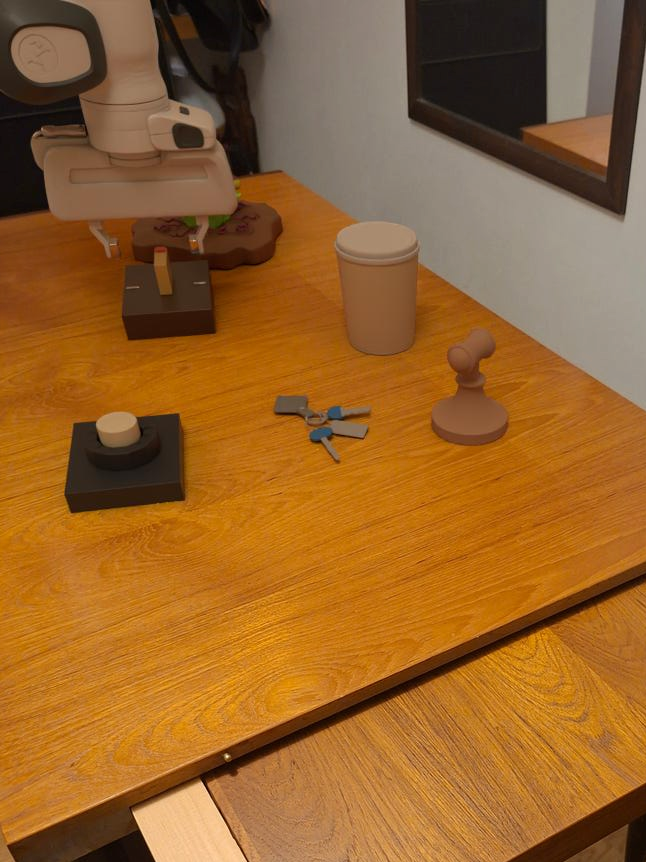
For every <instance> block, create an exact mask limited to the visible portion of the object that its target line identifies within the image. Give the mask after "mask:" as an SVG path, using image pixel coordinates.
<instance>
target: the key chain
mask: <svg viewBox="0 0 646 862" xmlns="http://www.w3.org/2000/svg"><path fill="white" fill-rule="evenodd" d="M307 402H308V396H307V395H277V396H276V398H275V402H274V407H273V412H274V413H277V414H279V413H290V414H291V413H294V414H295V413H296V414H297V415H300V416H301V417H303V418H304V421H305V423H304V424H305V425H306V427H308V428H309V429H311V430H312V431H311V432H310V433H309V434H308V437H309V439H310V440H311V441H314V442H317V441H321V442H322V444H323V446H325V448H326V450H327V451H328V452H329V453H330V455H331V456H332V457H333V459H335V461H340V460H341V458H340V456H339V454H338V452H337V450H336V449H335V447H334V446H333V444H332V443H331V441H329V439H328V438H329V437H331V436H332V435H333V434H336V435H340V436H341V435H342V436H348V437H354V438H359V439H364V438H365V436H366V433H367V431H368V429H369V424H363V423H357V422H351V421H346V420H345V421H344V420H341V419H344V417H346V416H348V417H349V416H351V415H356V416H357V415H358V414H362V413H366V414H367V413H369V412H371V410H372V408H371V406H370V405H366V406H359V407H351V408H345V407H342V405H335V406H331V407H330V408H328V409H327V411H317V410H316V411H313V410H312V409H309V408H308V407H307ZM316 415H317V416H319V417H314V416H316ZM329 419H331V420H332V421H329ZM312 420H317V421H312ZM325 422H327V424H328V423H329V426H320V427H317V428H315V427H311V426H310V425H314V426H317V425H322V424H324V423H325Z"/></svg>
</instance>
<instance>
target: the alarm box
mask: <svg viewBox="0 0 646 862" xmlns="http://www.w3.org/2000/svg"><path fill="white" fill-rule="evenodd" d="M134 416H135V415H134ZM135 417H136V418H137V422H138V425H139V429H140V433H141V437H140V439H139V440H138V441H137V442H135V443H133V444H130V445H128V446H124V447H114V448H112V447H107V446H104V445H103V444H102V443H101V440H100V437H99V434H98V431H97V428H96V422H97V420H91V421H81V422H74V423H73V425H72V433H71V439H70V447H69V455H68V463H67V471H66V477H65V486H64V492H63V494H64V498H65V501H66V503H67V506H68V510H69V512H70V514H77V513H88V512H96V511H105V510H113V509H123V508H131V507H132V508H133V507H140V506H149V505H157V503H159V504H167V503H166V502H168V503H176V502H175V501H177V502H184V501H186V494H185V493H186V492H185V491H186V490H185V489H186V488H185V449H184V447H185V445H184V428H183V424H182V420H181V416H180V413H179V412H176V413H165V414H164V413H163V414H154V415H144V416H135Z"/></svg>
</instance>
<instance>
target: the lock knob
mask: <svg viewBox="0 0 646 862" xmlns="http://www.w3.org/2000/svg"><path fill="white" fill-rule="evenodd" d="M153 264H154V268H155V273H156V277H157V282H158V286H159V290H160V295H169V294H173V275H172V271H171V266H170V261H169V256H168V252H167V248H165V247H155V253H154V263H153Z"/></svg>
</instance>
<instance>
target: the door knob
mask: <svg viewBox="0 0 646 862" xmlns="http://www.w3.org/2000/svg"><path fill="white" fill-rule="evenodd" d="M496 348H497V343H496V339H495V337H494V335H493V334H492V333H491V331H489V330H488V329H487V328H485V327H480V326H478V327H473V328H472V329H471V330H470V331H469V332H468V334H467V337H466V338H465V339H464V340H463V341H461V342H453V344H451V345H450V346H449V347H448V349H447V352H446V359H447V363H448V365H449V366H450V368H451V369H452V370H453V372H455V373H457V374H456V375H455V377H454V379H455V380H454V381H455V382H456V384H457V390H456V392H455V393H454V395H450V396H448V397H445V398H443V399H441V400H439V401H438V402H436V403H435V405H434V406H433V407H432V409H431V415H430V416H431V417H430V421H431V424H430V425H431V428H432V430H433V432H434V433H435V435H437V436H438V437H439V438H441V439H443V440H444V441H446V442H449V443H452V444H456V445H462V446H480V445H485V444H486V445H487V444H489V443H492V442H495V441H497V440H499V439H501V438H502V437H503V436H504V435H505V434H506V432H507V430H508V424H509V412H508V410H507V408H506V407H505V405H503V404H502V403H501V402H500V401H498V400H496V399H494V398H492V397H489V396H487V395H486V393H485V390H484V385H485V384H486V383H487V376H486V375H485V374H484V373H483V372H481V371H480V362H481V361H482V360H485V359H489V358H491V357H492V356H493V355H494V354H495V351H496Z"/></svg>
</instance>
